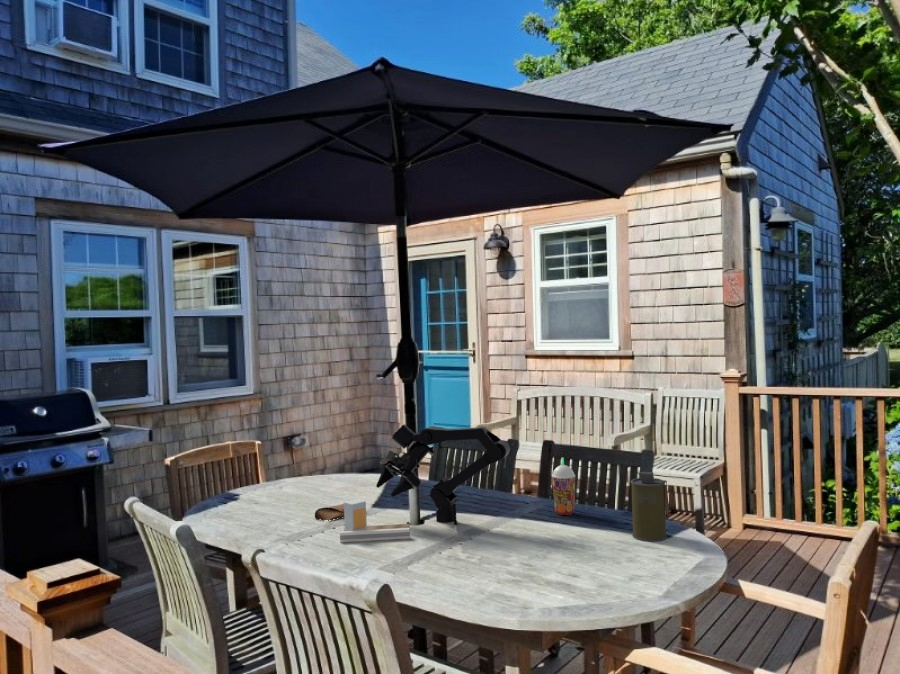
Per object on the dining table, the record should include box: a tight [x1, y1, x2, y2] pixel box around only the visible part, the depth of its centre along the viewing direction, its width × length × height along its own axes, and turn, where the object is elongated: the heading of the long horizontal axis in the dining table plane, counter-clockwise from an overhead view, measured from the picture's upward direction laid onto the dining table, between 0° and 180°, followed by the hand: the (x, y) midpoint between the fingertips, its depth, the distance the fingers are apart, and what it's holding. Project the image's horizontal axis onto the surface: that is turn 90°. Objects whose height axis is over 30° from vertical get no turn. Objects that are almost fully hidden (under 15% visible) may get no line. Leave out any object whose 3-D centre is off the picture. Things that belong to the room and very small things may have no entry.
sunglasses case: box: [314, 503, 344, 521], centre depth 267 cm, size 18×7×7 cm
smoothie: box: [551, 457, 576, 516], centre depth 257 cm, size 8×8×20 cm
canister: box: [630, 471, 669, 542], centre depth 227 cm, size 11×10×20 cm
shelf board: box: [339, 523, 411, 544], centre depth 239 cm, size 22×18×1 cm
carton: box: [343, 498, 368, 531], centre depth 237 cm, size 6×5×11 cm
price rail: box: [339, 527, 411, 543], centre depth 231 cm, size 22×2×3 cm, turn 93°
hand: (384, 491), depth 247 cm, fingers open, 9 cm apart
